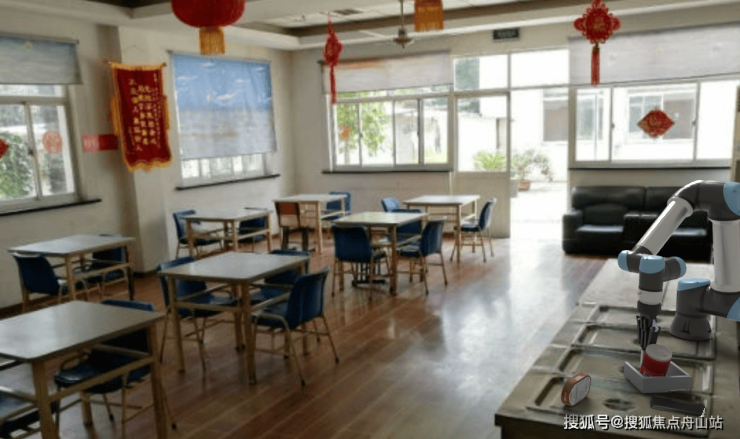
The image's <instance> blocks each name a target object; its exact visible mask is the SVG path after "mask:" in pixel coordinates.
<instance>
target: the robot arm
mask: <svg viewBox="0 0 740 439" xmlns="http://www.w3.org/2000/svg"><path fill="white" fill-rule="evenodd" d="M666 204H667V205H666V207H665V208H664V210H662V212H661V213H660V214H659V216H657V218H656V219H655V221H654V222H653V223H652V224H651V225H650V227H649V228H648V229H647V230H646V232H645V233H644V235H643V236H642V237H641V238H640V240H639V241H638V242H637V243H636V244H635V245H634V246H633V247H632V249H631V250H627V249H626V250H622V251H621V252H620V253H619V254H618V257H617V265H618V267H619V269H620V270H622V271H625V272H628V273H634V274H638V289H637V292H636V294H637V302H636V311H637V313H639V315H636V316H635V318H636V328H637V332H636V333H637V343H638V345H640V348H641V350H640V363H639V366H640V368H641V364H642V361H643V357H644V354H645V350H646V348H647V346H648V345H650V344H658V343H657V342H658V338H659V333H660V331H661V329H662V328H661V326H658V324H657V323H658V319H657V317H658V315H660V314H661V313H662V301H663V295H664V289H663V287H664V283H665V282H668V281H673V280H674V281H675V280H678V279H680V278H682V277H684V276H685V275H686V274H687V264H686V262H685V261H684V259H682V258H680V257H678V256H669V257H665V256H664V257H663V256H660V255H657V254H658V253H659V252H660V250H661V249H662V248H663V247H664V245H665V244H666V242H668V240H669V239H670V237H672V235H673V234H674V233H675V232H676V230H677V229H678V228H679V226H680V225H681V224H682V222H683V221H684V220H685V219H686V218H688V217H691V216H692V215H693V213H694V212H697V211H698V212H699V211H701V212H707V219H708V220H709V221H710V222H711V223H712V242H713V243H712V244H713V270H714V271H713V273H714V275H713V276H714V280H713V281H712V282H711V280H710V279H708V278H704V277H703V278H702V277H689V278H682V279H680V280H678V282H677V286H676V291H675V292H676V299H675V300H676V302H675V313H674V314H675V315H674V317H673V319H672V321H671V324H670V326H669V333H670V335H672V336H674V337H676V338H679V339H684V340H689V341H700V342H701V341H709V340H710V339H709V338H710V337H711V336H712V337H713V330H712V327H711V323H710V321H709V316H713V317H717V318H721V319H725V320H727V321H735V322H740V182H735V181H732V180H731V181H725V180H709V179H699V180H694V181H692V182H689V183H687V184H685V185H683V186H682V187H680V188H679V189H678V190H676V191H675V192H674V193H673V194H672V195H671V196H670V198H669V199H668V200H667V203H666Z"/></svg>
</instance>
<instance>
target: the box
mask: <svg viewBox="0 0 740 439" xmlns="http://www.w3.org/2000/svg"><path fill="white" fill-rule="evenodd" d="M623 364H624V365H623V377H624V378H626V379H627V380H628V379H629V380H630V381H632V382H633V383H634V384H635V386H636V387H635V386H634V387H635V388H636V389H637V390H639V391H640V392H641V394H653V393H657V394H658V393H669V392H668V391H670V390H674V389H677V390H678V389H685V390H686V389H687V390H688V389H689V390H691V391H692V386H693V384H692V383H693V376H692V375H690V374H689V373H688V372H686V371H685V370H684V369H683V368H681V367H680V366H678V365H677V364H676V363H675V362H673V361H672V360H671V362H670V365H669V368H668V371H667V374H666V376H660V377H644V376H643V375H642V374H641V373H640V371H639V370H637V369H636V368H635V367H634V366H633V365H631V363H629V361H624V362H623ZM629 380H628V381H629ZM630 381H629V382H630Z"/></svg>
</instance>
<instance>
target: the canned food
mask: <svg viewBox="0 0 740 439" xmlns="http://www.w3.org/2000/svg"><path fill="white" fill-rule="evenodd" d="M672 359H673V353H672V351H671V350H670V349H669V348H668V347H667V346H664V345H663V344H658V343H656V344H650V345H648V346H647V348H646V350H645V354H644V357H643V361H642V364H641V367H640V369H639V373H641V374H642V375H643V376H644V377H660V376H667V371H668V368H669V365H670V362H671V361H672Z"/></svg>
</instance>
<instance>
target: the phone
mask: <svg viewBox="0 0 740 439" xmlns="http://www.w3.org/2000/svg"><path fill="white" fill-rule="evenodd" d="M649 401H650V402H649V407H650V408H653V409H655V410H656V409H657V410H661V411H667V412H671V413H672V412H673V413H677V414H682V415H688V416H692V417H698V418H700V417H699V416H701V415H702V413H703V410H704V408H705V406H706V404H702V403H700V402H699V403H698V402H693V401H689V400H688V401H687V400H682V399H677V398H672V397H667V396H660V395H654V394H653V395H651V396H650V400H649ZM705 409H706V408H705Z"/></svg>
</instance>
